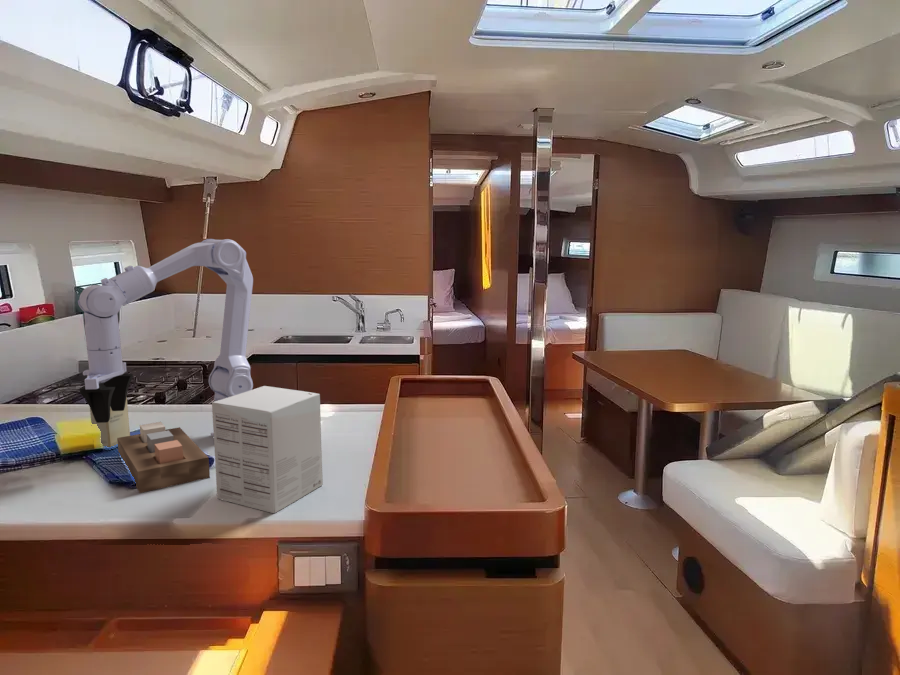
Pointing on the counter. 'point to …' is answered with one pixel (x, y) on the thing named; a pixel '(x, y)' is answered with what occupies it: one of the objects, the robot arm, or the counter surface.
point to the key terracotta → (168, 452)
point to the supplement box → (267, 447)
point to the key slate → (158, 439)
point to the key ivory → (150, 430)
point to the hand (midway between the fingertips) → (110, 416)
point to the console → (167, 473)
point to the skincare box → (113, 426)
